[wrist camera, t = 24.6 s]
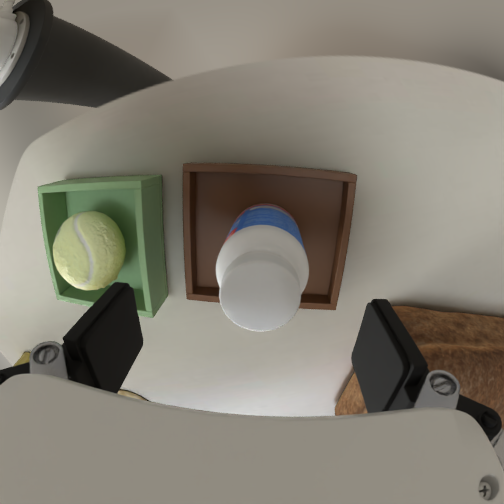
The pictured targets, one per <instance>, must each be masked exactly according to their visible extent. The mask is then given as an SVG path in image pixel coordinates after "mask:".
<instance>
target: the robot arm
mask: <svg viewBox="0 0 504 504" xmlns="http://www.w3.org/2000/svg"><path fill="white" fill-rule="evenodd" d="M14 2H15V0H5V1H4V3H3V6H0V86H1V85H2V84H3V83H4V81H5V80H6V79H7V78H8V76H9V75H10V73H11V72H12V70H13V68H14V67H15V65H16V63H17V61H18V59H19V57H20V55H21V53H22V51H23V48H24V45H25V43H26V40H27V36H28V32H29V26H30V20H29V16H28V14H26V13H24V12H21V11H18V12H15V13H12V12H13V8H12V6H13V4H14ZM63 340H64V343H63V345H62V346H61V345H60V344H59V343H57V342H53V341H48V342H43V343H40V344H39V345H37V346H36V347H35V348H34V349H33V350H32V351H31V353H30V357H29V362H27V363H23V364H20V365H16V366H13V367H9V368H6V369H3V370H0V504H504V429H502V421H501V418H500V416H499V414H498V413H497V412H496V411H495V410H493V409H492V408H490V407H487V406H485V405H483V404H481V403H478V402H476V401H474V400H472V399H470V398H467V397H465V396H463V395H461V394H459V393H460V384H459V381H458V380H457V379H456V377H455V376H453V375H452V374H451V373H449V372H447V371H444V370H434V371H431V372H430V371H429V369H428V368H427V367H428V364H427V362H426V360H425V358H424V357H423V355H422V353H421V352H420V350H419V348H418V347H417V345H416V344H415V342H414V340H413V339H412V337H411V336H410V334H409V332H408V331H407V329H406V328H405V326H404V325H403V323H402V321H401V320H400V318H399V317H398V315H397V314H396V312H395V311H394V309H393V308H392V306H391V305H390V303H389V302H388V300H386V299H373V300H372V301H371V303H368V304H367V306H366V310H365V313H364V317H363V320H362V324H361V327H360V330H359V334H358V337H357V340H356V343H355V346H354V349H353V352H352V364H353V367H354V370H355V373H356V377H357V380H358V383H359V386H360V389H361V393H362V396H363V399H364V403H365V406H366V409H367V413H366V414H354V415H340V416H320V417H275V416H253V415H239V414H228V413H218V412H210V411H202V410H195V409H188V408H182V407H176V406H170V405H165V404H159V403H154V402H150V401H145V400H141V399H136V398H132V397H128V396H124V395H120V394H117V393H118V391H119V389H120V387H121V385H122V384H123V382H124V380H125V378H126V376H127V374H128V372H129V370H130V368H131V367H132V365H133V363H134V361H135V359H136V357H137V356H138V354H139V352H140V350H141V348H142V346H143V337H142V332H141V327H140V322H139V317H138V312H137V306H136V301H135V295H134V289H133V288H132V287H130V285H129V284H128V283H123V282H114V283H113V284H112V285H111V286H110V287H109V288H108V289H107V290H106V291H105V292H104V294H103V295H102V296H101V297H100V298H99V299H98V300H97V301H96V302H95V303H94V304H93V305H92V306H91V307H90V308H89V309H88V311H87V312H86V313H85V314H84V315H83V316H82V317H81V318H80V319H79V320H78V321H77V323H76V324H75V325H74V326H73V327H72V328H71V329H70V330H69V332H68V333H67V334H66V335H65V336H64V337H63Z"/></svg>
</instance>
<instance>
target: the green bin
mask: <svg viewBox="0 0 504 504" xmlns="http://www.w3.org/2000/svg"><path fill="white" fill-rule="evenodd" d="M38 193H39V194H38V197H39V207H40V216H41V224H42V231H43V237H44V243H45V249H46V254H47V259H48V264H49V268H50V273H51V277H52V281H53V285H54V289H55V293H56V297H57V300H61V301H66V302H70V303H75V304H79V305H84V306H89V307H91V306H92V305H93V304H94V303H95V302H96V301H97V300H98V299H99V298H100V297H101V296H102V295H103V294H104V292H105V291H106V290H107V289H108V288H109V287H110V286H111V285H112V284H113V283H114V282H123V283H128V284H129V285H130V287H132V288H133V289H134V295H135V301H136V306H137V312H138V316H144V317H150V318H153V317H154V316H155V314H156V313H157V311H158V310H159V308H160V307H161V305H162V304H163V302H164V301H165V299H166V298H167V296H168V290H167V279H166V267H165V253H164V237H163V214H162V175H136V176H112V177H95V178H81V179H69V180H62V181H58V182H54V183H50V184H46V185H42V186H39V187H38ZM85 211H97V212H100V213H104V214H105V215H107V216H108V217H110V218H111V219H112V220H113V221H114V222H115V223H116V224H117V225H118V227H119V229H120V230H121V232H122V235H123V237H124V240H125V248H126V254H125V260H124V263H123V266H122V268H121V270H120V272H119V274H118V279H117V280H114V281H112V282H111V283H110V284H108V285H107V286H106V287H104V288H100V289H98V290H87V291H86V290H82V289H79V288H76V287H74V286H72V285H71V284H70V283H68V282H67V281H66V280H65V279H64V278H63V277H62V275H61V274H60V273H59V271H58V270H57V267H56V265H55V262H54V257H53V243H54V240H55V236H56V235H57V232H58V230H59V229H60V226H61V225H62V224H63V223H64V222H65V221H66V220H67V219H68V218H70V217H71V216H72V215H74V214H76V213H79V212H85Z"/></svg>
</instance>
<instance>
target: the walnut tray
mask: <svg viewBox="0 0 504 504" xmlns="http://www.w3.org/2000/svg"><path fill="white" fill-rule="evenodd" d="M356 180H357V175H355V174H352V173H347V172H339V171H331V170H322V169H312V168H301V167H290V166H276V165H260V164H239V163H185V164H183V237H184V263H185V281H186V297H187V299H189V300H198V301H208V302H218V303H220V299H219V290H220V287H219V284H218V281H217V277H216V263H217V258H218V255H219V253H220V250H221V248H222V246H223V244H224V242H225V240H226V238H227V236H228V234H229V232H230V230H231V228H232V226H233V224H234V222H235V220H236V219H237V217H238V216H239V215H240V214H241V213H242V212H243V211H244V210H246V209H247V208H249V207H251V206H254V205H257V204H273V205H277V206H279V207H281V208H283V209H285V210H286V211H287V212H288V213H289V214H290V215H291V216H292V217H293V218H294V220H295V221H296V223H297V225H298V228H299V231H300V235H301V238H302V242H303V245H304V249H305V252H306V256H307V259H308V265H309V277H308V281H307V284H306V287H305V289H304V291H303V292H302V294H301V300H300V305H299V308H302V309H325V310H336V306H337V301H338V296H339V291H340V286H341V281H342V276H343V271H344V265H345V259H346V254H347V248H348V241H349V235H350V228H351V221H352V214H353V206H354V198H355V189H356Z"/></svg>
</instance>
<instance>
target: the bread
mask: <svg viewBox="0 0 504 504" xmlns="http://www.w3.org/2000/svg"><path fill="white" fill-rule="evenodd" d="M392 308H393V309H394V311H395V312H396V314H397V315H398V317H399V318H400V320H401V321H402V323H403V325H404V326H405V328H406V329H407V331H408V332H409V334H410V336H411V337H412V339H413V340H414V342H415V344H416V345H417V347H418V348H419V350H420V352H421V353H422V355H423V357H424V358H425V360H426V362H427V364H428V367H427V368H428V369H429V371H430V372H431V371H434V370H444V371H447V372H449V373H451V374H452V375H453V376H455V377H456V379H457V380H458V381H459V384H460V393H459V394H461V395H463V396H465V397H467V398H470V399H472V400H474V401H476V402H478V403H481V404H483V405H485V406H487V407H490V408H492V409H493V410H495V411H496V412H497V413H498V414H499V416H500V418H501V421H502V429H504V318H498V317H493V316H483V315H478V314H466V313H451V312H439V311H434V310H429V309H422V308H415V307H409V306H392ZM366 413H367V409H366V406H365V403H364V399H363V396H362V393H361V389H360V386H359V383H358V380H357V377H356V373H355V372H354V374H353V375H352V377H351V379H350V381H349V383H348V385H347V386H346V388H345V390H344V392H343V394H342V396H341V397H340V399H339V401H338V403H337V405H336V407H335V416H340V415H354V414H366Z"/></svg>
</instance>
